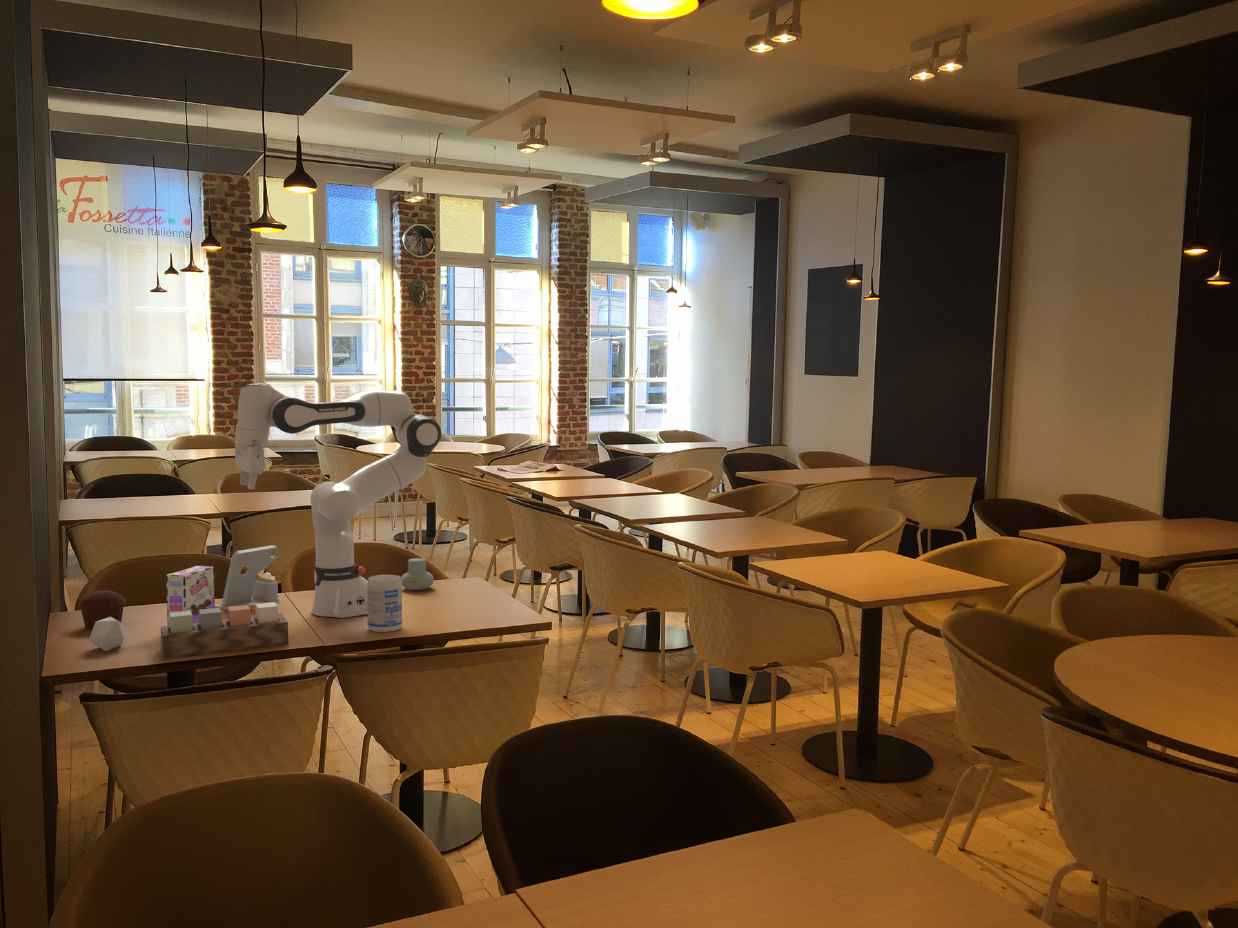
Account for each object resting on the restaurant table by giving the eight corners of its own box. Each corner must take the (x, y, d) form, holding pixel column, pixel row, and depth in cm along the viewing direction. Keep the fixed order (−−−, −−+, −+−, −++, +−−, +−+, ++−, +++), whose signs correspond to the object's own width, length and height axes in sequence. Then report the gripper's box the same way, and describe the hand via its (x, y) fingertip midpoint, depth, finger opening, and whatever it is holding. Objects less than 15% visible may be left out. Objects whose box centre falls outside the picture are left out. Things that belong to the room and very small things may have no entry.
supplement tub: (390, 634, 266) (390, 582, 264) (360, 631, 269) (360, 579, 267) (408, 625, 275) (408, 575, 274) (379, 622, 278) (378, 573, 277)
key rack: (281, 634, 264) (281, 613, 264) (288, 644, 255) (287, 621, 255) (161, 649, 250) (160, 626, 249) (164, 659, 241) (163, 635, 241)
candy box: (185, 634, 264) (183, 575, 263) (166, 632, 265) (164, 574, 264) (216, 621, 278) (214, 565, 276) (198, 620, 279) (196, 564, 277)
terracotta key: (248, 623, 257) (247, 604, 257) (250, 627, 253) (250, 608, 252) (228, 625, 255) (227, 606, 254) (230, 629, 250) (229, 610, 250)
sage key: (191, 629, 251) (190, 610, 250) (192, 633, 246) (192, 614, 246) (170, 631, 248) (169, 612, 248) (171, 636, 244) (170, 617, 243)
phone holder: (262, 596, 309) (260, 541, 308) (282, 600, 304) (281, 544, 302) (213, 607, 295) (211, 549, 293) (233, 611, 289) (232, 552, 288)
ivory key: (275, 620, 261) (274, 602, 260) (278, 624, 256) (278, 605, 256) (255, 622, 258) (255, 603, 258) (258, 626, 254) (258, 608, 253)
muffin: (73, 632, 265) (71, 596, 264) (88, 621, 276) (87, 587, 275) (119, 630, 267) (117, 595, 266) (132, 620, 278) (131, 586, 277)
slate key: (219, 626, 254) (219, 607, 253) (222, 630, 250) (221, 611, 249) (199, 628, 251) (198, 609, 251) (201, 632, 247) (200, 613, 247)
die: (109, 644, 256) (84, 620, 251) (137, 628, 256) (113, 604, 251) (103, 663, 249) (77, 639, 244) (132, 647, 249) (107, 622, 244)
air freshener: (437, 587, 325) (437, 558, 324) (428, 592, 317) (427, 562, 316) (407, 585, 327) (406, 556, 326) (396, 590, 319) (396, 561, 318)
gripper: (271, 442, 267) (267, 492, 268) (255, 437, 285) (251, 483, 285) (247, 441, 264) (243, 490, 265) (232, 435, 281) (228, 482, 282)
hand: (247, 486), depth 275 cm, fingers open, 8 cm apart
